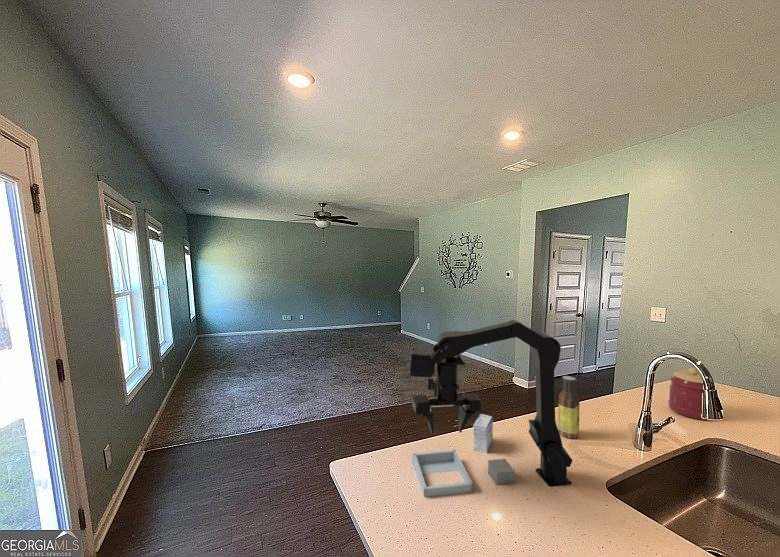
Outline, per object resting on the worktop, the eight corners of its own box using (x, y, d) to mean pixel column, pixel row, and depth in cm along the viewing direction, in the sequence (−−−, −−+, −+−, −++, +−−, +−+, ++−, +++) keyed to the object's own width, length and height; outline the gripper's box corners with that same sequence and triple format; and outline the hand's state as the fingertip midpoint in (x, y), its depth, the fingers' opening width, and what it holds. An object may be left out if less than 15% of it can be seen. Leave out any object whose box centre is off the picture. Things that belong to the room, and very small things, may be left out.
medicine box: (487, 454, 94) (487, 427, 94) (472, 450, 97) (473, 423, 96) (492, 441, 101) (493, 416, 100) (479, 437, 103) (479, 412, 103)
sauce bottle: (582, 440, 101) (584, 382, 100) (561, 438, 102) (563, 381, 101) (574, 429, 107) (576, 375, 106) (555, 427, 108) (556, 374, 107)
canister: (680, 417, 115) (683, 372, 113) (661, 402, 127) (663, 361, 126) (724, 423, 111) (727, 376, 110) (699, 406, 123) (702, 364, 122)
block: (514, 485, 80) (514, 471, 80) (496, 487, 80) (496, 472, 80) (504, 472, 85) (505, 458, 85) (488, 473, 85) (488, 460, 84)
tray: (473, 497, 77) (473, 484, 77) (424, 502, 76) (424, 489, 76) (455, 460, 91) (455, 449, 91) (412, 464, 90) (412, 453, 90)
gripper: (468, 366, 93) (467, 415, 94) (409, 368, 91) (408, 418, 92) (483, 381, 82) (482, 436, 83) (416, 384, 80) (415, 441, 81)
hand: (446, 432), depth 85 cm, fingers open, 8 cm apart
